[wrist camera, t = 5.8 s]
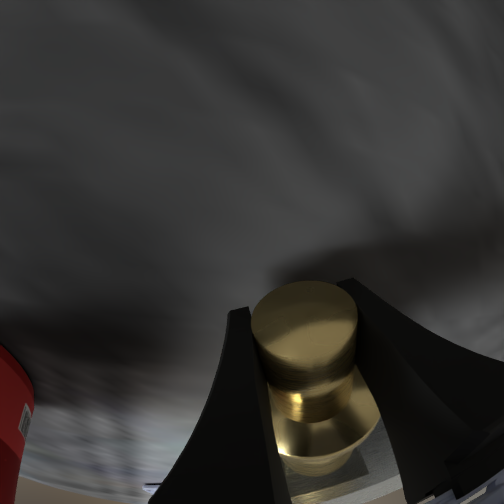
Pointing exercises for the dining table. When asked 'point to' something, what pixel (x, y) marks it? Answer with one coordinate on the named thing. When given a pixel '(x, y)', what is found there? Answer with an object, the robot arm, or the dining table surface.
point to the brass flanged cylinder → (313, 375)
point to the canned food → (13, 422)
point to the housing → (351, 475)
